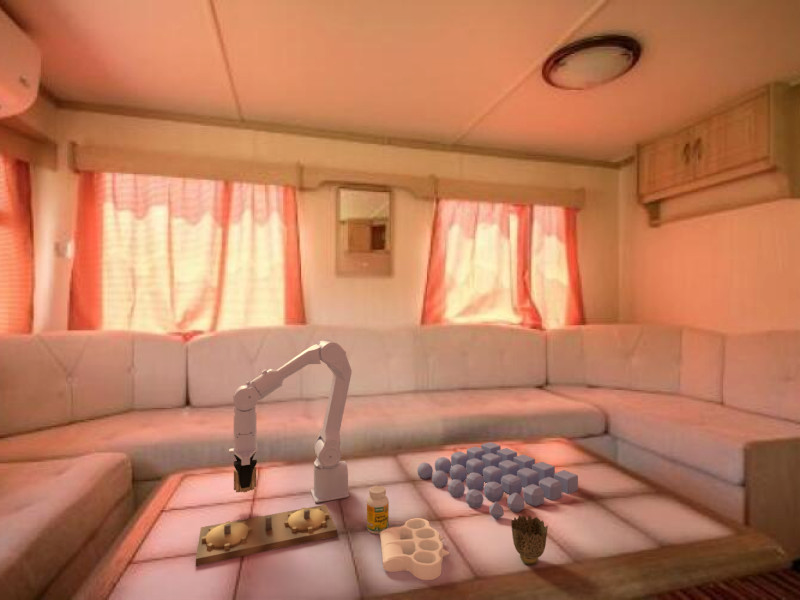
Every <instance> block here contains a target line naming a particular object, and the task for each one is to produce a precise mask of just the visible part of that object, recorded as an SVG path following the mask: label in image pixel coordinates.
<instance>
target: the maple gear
mask: <svg viewBox="0 0 800 600" xmlns="http://www.w3.org/2000/svg"><path fill="white" fill-rule="evenodd" d="M256 487H257V466H255V468H254V470H253V473H252V478H251V484H250V487H248V488H241V486H240V482H239V476H238V473H237V470H236V469H233V491H235V493H247V492H249V491H253V490H255V488H256Z"/></svg>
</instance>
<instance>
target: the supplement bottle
mask: <svg viewBox="0 0 800 600" xmlns="http://www.w3.org/2000/svg"><path fill="white" fill-rule="evenodd" d="M386 492H387V491H386V487H384V486H382V485H374V486H371V487H370V488H369V493H368V495H369V496H367V499H366V529H367V531H368V532H369V533H371V534H374V535H380V532H381V531H383V530H385V529H388V528H390V527H389V526H390V525H389V524H390V522H389V519H390V518H389V517H390V516H389V515H390V514H389V512H390V511H389V507H390V506H389V503H390V501H389V498H388V496H386Z"/></svg>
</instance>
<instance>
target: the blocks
mask: <svg viewBox="0 0 800 600" xmlns="http://www.w3.org/2000/svg"><path fill="white" fill-rule="evenodd" d="M501 448H502V447H501V445H499V444H496V443H495V442H491V441H490V442H485V443H482V444H481V445H480V447H478V446H473V447H470V448H469V447H468V448H467V449H466V452H463V451H456V452H453V453H452V454H451V456H450V459H449V458H447V457H445V456H441V457H438V458H436V460H435V462H434V469H433V466H432V465H431V464H430V463H428V462H422V463H420V464H419V465H418V467H417V469H416V470H417V471H416V472H417V475H418V477H419V478H420V479H422V478H423V480H427V478H428V479H430V478H431V481H432V485H433V486H435V487H436V488H438V487H439V489H440V488H441V487H442V488H444V487H446V486H447V485H448V486H447V490H448V493H449V494H450V496H451V497H454V498H460V497H462V496H463V495H464V494H465V489H466V488H465V485H466V487H467V488H468V489H469V490H468V491H467V492H466V495H465V501H466V504H467V505H468V506H469V507H470V508H477V509H478V508H479V509H480V507H482V506H483V503H484V500H485V499H484V497H485V498H486V499H487V500H488V501H491V502H492V504H491V505H490V506H489V507H488V509H489V514H490V516H492V517H493V518H494V520H499V519H500V518H501V517H503V516H504V515H505V514H504V508H503V507H502V505H501V504H500V503H499V502H500V501H501V499H503V496H504V494H506V493H507V494H506V495H508V494H509V495H508V497H507V501H506V502H507V507H508V508H509V509H510V511H512V512H514V513H520V512H521V511H523V510H524V509H525V503H526V504H528V505H530V506H532V507H537V506H540V505H542V504H544V503H545V499H548V500H549V501H555V500H556V501H557V499H560V498H562V497H563V495H562V494H563V493H564V494H566V495H571V494H573V493H575V492H577V491H579V476H578V475H577V474H575V473H574V472H570V471H567V470H564V469H563V470H560V471H557V472H555V471H556V466H555V465H551V464H549V463H546V462H544V461H540V462H536V459H535V458H534V457H531V456H528V455H526V454H521V455H518V452H517V451H515V450H513V449H510V448H508V447H506V448H505V447H504V448H502V449H501ZM434 470H435V471H434ZM433 471H434V472H433ZM446 473H447V474H446ZM448 474H449V477H448ZM468 474H469V475H468ZM482 475H483V476H482ZM449 478H450V480H451V481H449ZM464 482H465V483H466V484H464ZM484 482H485V483H484ZM486 483H487V484H486ZM482 490H483V493H482V492H481V491H482ZM522 491H523V497H522V496H521V495H520V494H521V493H522ZM504 492H505V493H504ZM483 494H484V495H483ZM493 502H494V503H493Z"/></svg>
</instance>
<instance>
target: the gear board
mask: <svg viewBox="0 0 800 600" xmlns="http://www.w3.org/2000/svg"><path fill="white" fill-rule="evenodd" d="M337 536H338V529H337V527H336V525H335V522H334V519H333V517H332V516H331V512H330V511H329V509H328V505H327V504H321V505H316V506H310V507H301V508H299V509H293V510H289V511H284V512H283V511H282V512H277V513H272V514H265V515H262V516H256V517H249V518H245V519H239V520H233V521H231V520H229V521H225V522H223V523H218V524H212V525H207V526H201V527H200V531H199V536H198V543H197V548H196V556H195V566H196V567H197V566H202V565H208V564H211V563H216V562H221V561H226V560H230V559H235V558H236V559H237V558H240V557H245V556H251V555H254V554H258V553H259V554H260V553H263V552H264V553H265V552H268V551H273V550H277V549H282V548H287V547H292V546H296V545H302V544H306V543H310V542H315V541H320V540H324V539H330V538H333V537H334V538H335V537H337Z"/></svg>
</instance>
